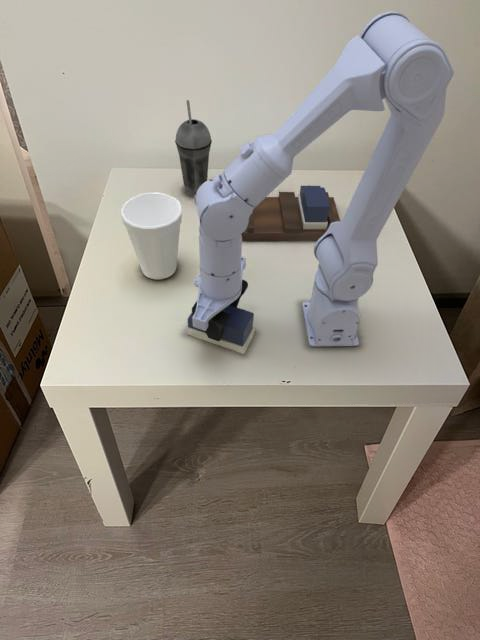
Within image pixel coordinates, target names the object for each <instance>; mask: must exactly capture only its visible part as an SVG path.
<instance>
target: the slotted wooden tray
mask: <svg viewBox="0 0 480 640" xmlns="http://www.w3.org/2000/svg"><path fill="white" fill-rule="evenodd" d="M325 192H326V195H327V199H328V203H329V206H330V207H329V212H328V217H327V222H328V225H327V229H303V226H302V221H301V216H300V211H299V206H298V201H297V198H298V196H296V193H295V191H279V192H278V196H267V197H266V198H265V199H264V200H262V201H261V202H260V203H259V204H258V205H257V206H256V207H255V208H254V209H253V213H252V214H251V215H250V216H249V223H248V226H247V228H246V230H245V231H244V232H243V233H241V235H242V242H317V241H318V239H319V238H320V237H322V236H323V235H324V234H325V233H326V231H327V230H328V228H329V226H330V224H331V223H332V222H337V221H341V219H340V216H339V212H338V208H337V205H336V202H335V201H336V200H335V197H334V196H330V195H329V192H328V191H325Z"/></svg>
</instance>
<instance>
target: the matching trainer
mask: <svg viewBox="0 0 480 640" xmlns="http://www.w3.org/2000/svg"><path fill="white" fill-rule="evenodd" d="M326 192H327V191H326V188H325V187H324V186H323V187H321V185H300V189H299V193H297V197H298V198H297V201H298V206H299V211H300V216H301V221H302V226H303V229H327V225H328V222H327V217H328V212H329V207H330V206H329V203H328V199H327V195H326Z"/></svg>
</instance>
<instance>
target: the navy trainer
mask: <svg viewBox="0 0 480 640" xmlns="http://www.w3.org/2000/svg"><path fill="white" fill-rule="evenodd" d="M222 311H223V312H226V313H229V314H231V316H230V318H229V319H228V321H227V323H226V324H225V326H224V331H223V335H222V338H221V340H220V341H216V340H213V339H210V338H208V336H207V334H206V332H205V331H204V330H201V329H198V328H195V327H193V321H192V317H193V315H192V312H191V313H190V315H189V316H188V318H187V326H186V328H185V331H186V335H189V336H191V337H194V338H197V339H199V340H202V341H205V342H208V343H211V344H214V345H217V346H220V347H222V348H225V349H228V350H230V351H233V352H237V353H238V354H242V355H245V353H246V351H247V349H248V347H249V345H250V344H251V341H252V340H253V338H254V336H255V333H256V327H254V316H255V314H254V312H252V311H249V310H246V309H244V308H240V307H238V306H237V307H234V306H231V305H228V306H227V307H226V308H224V309H223V310H222Z"/></svg>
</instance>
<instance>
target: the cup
mask: <svg viewBox="0 0 480 640" xmlns="http://www.w3.org/2000/svg"><path fill="white" fill-rule="evenodd" d="M182 217H183V205H182V203H181V202H180V201H179V199H178V198H175V197H174V196H172V195H171V194H168V193H164V192H160V191H158V192H153V191H152V192H143V193H140V194H136V195H134V196H132V197H130V198H129V199H127V200H126V201H125V202H124V204H123V205H122V206H121V209H120V218H121V220H122V223H123V225H124V227H125V229H126V232H127V234H128V237H129V240H130V242H131V245H132V248H133V250H134V253H135V255H136V259H137V261H138V264H139V267H140V270H141V272H142V273H143V275H144V276H145V277H147V278H148V279H152V280H164V279H167V278H168V279H169V277H171V276H173V275H174V273H176V270H177V264H178V253H179V241H180V230H181V223H182Z"/></svg>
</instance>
